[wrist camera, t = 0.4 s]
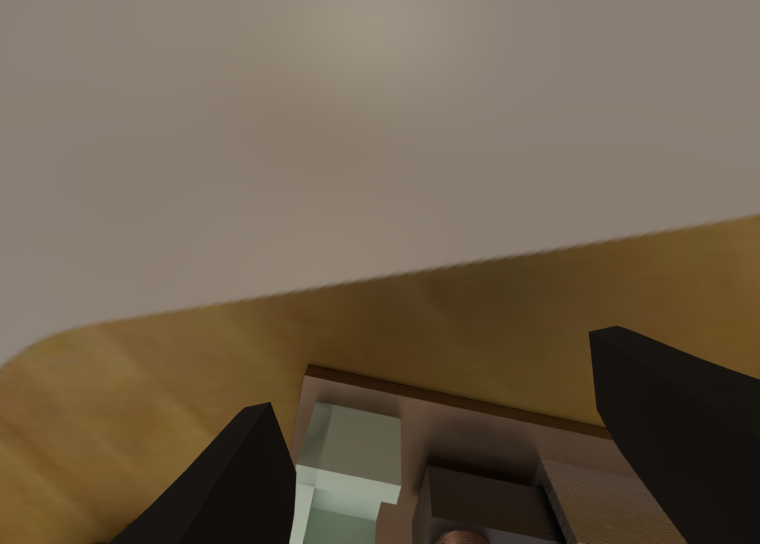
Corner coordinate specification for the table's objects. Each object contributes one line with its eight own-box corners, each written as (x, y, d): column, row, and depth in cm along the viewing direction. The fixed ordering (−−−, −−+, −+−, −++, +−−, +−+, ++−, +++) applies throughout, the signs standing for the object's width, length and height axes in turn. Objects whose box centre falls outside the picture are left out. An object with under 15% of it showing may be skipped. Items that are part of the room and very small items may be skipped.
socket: (373, 525, 24) (367, 610, 19) (293, 509, 24) (270, 591, 19) (400, 418, 22) (401, 486, 18) (315, 400, 22) (296, 464, 18)
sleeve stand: (661, 588, 25) (736, 716, 20) (280, 509, 25) (245, 619, 19) (724, 453, 23) (827, 554, 18) (308, 365, 23) (279, 440, 17)
